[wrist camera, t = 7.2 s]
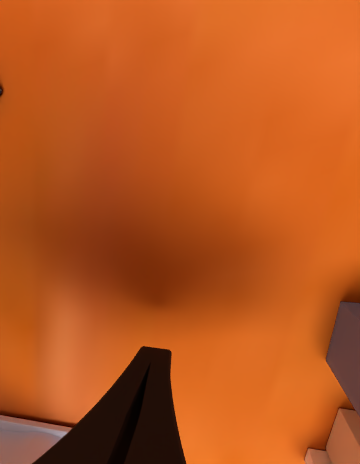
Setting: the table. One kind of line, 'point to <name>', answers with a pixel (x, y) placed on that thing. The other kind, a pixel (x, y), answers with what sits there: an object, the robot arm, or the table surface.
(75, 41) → the table surface
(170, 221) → the table surface
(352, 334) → the boxed book
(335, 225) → the table surface
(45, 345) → the table surface
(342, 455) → the book rack
